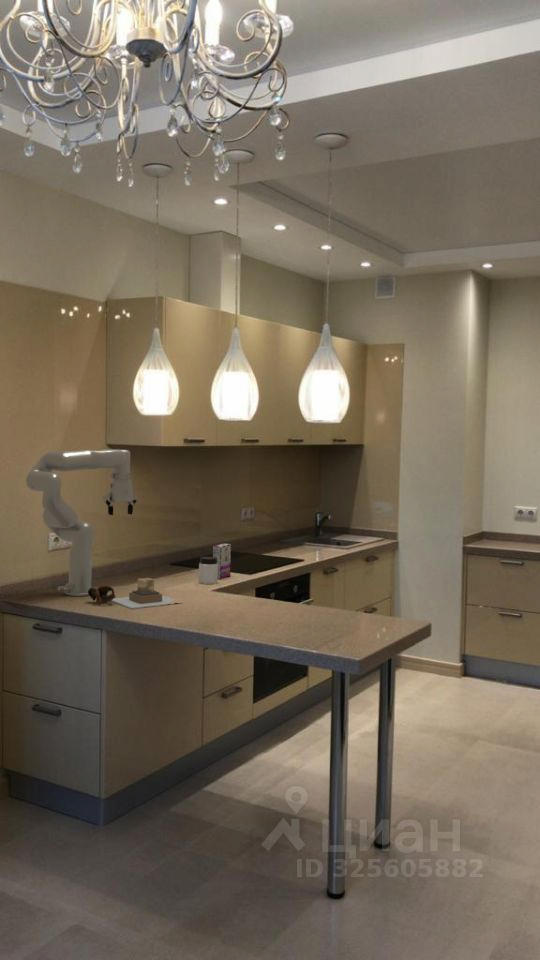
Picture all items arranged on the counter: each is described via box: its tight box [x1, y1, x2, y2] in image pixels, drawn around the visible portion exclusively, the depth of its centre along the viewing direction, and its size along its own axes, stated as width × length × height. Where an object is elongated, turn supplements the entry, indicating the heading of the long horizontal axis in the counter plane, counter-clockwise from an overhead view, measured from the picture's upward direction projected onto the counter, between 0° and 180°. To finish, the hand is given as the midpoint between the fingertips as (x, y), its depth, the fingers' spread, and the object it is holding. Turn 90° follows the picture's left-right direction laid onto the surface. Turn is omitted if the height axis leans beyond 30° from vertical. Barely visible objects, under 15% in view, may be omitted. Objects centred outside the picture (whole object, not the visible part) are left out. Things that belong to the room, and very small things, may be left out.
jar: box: [198, 556, 218, 585], centre depth 403 cm, size 9×8×12 cm
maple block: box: [137, 577, 155, 594], centre depth 352 cm, size 5×5×6 cm
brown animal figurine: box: [88, 585, 117, 606], centre depth 347 cm, size 12×10×8 cm
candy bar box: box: [212, 543, 232, 580], centre depth 419 cm, size 11×5×16 cm, turn 156°
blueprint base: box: [110, 589, 176, 610], centre depth 352 cm, size 24×20×4 cm
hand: (120, 514), depth 382 cm, fingers open, 9 cm apart
